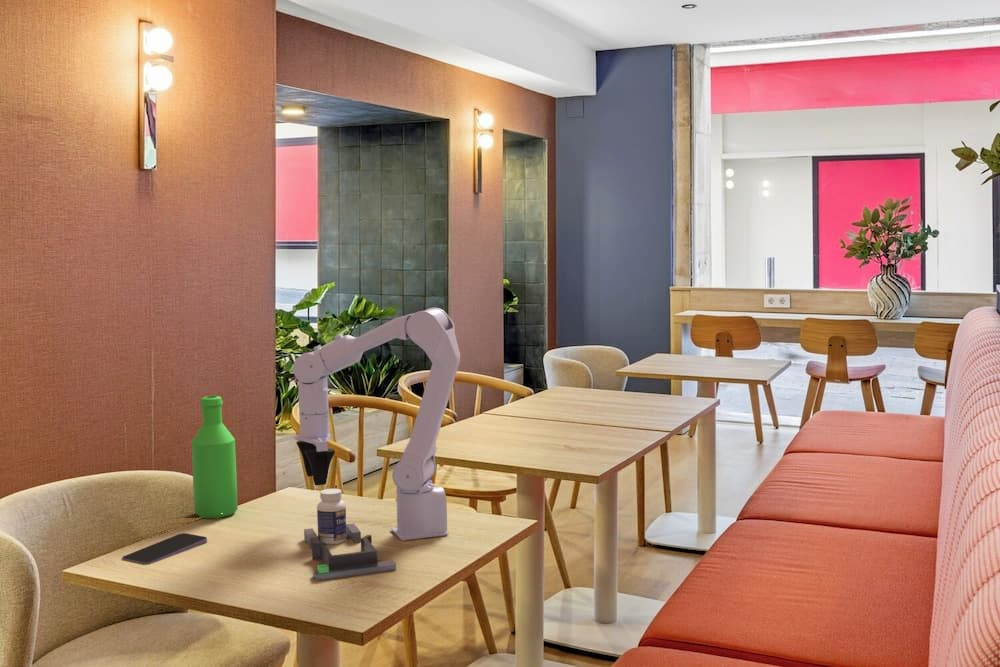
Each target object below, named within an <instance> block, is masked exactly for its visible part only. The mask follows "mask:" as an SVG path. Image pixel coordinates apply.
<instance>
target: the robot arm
mask: <svg viewBox="0 0 1000 667" xmlns="http://www.w3.org/2000/svg"><path fill="white" fill-rule="evenodd" d="M455 327H456V326H455V323H454V322H453V320H452V319H451V318H450V316H449V315H448V314H447V312H446V311H445V310H443V309H441V308H439V307H429V308H426V309H425V310H421V311H417V312H414V313H410V314H406V315H402V316H399V317H396V318H393V319H390V320H389V321H387V322H385V323H384V324H381V325H379V326H378V327H375V328H373V329H371V330H369V331H367V332H365V333H363V334H362V335H359V336H357V337H355V336H353V335H350V334H346V335H343V334H338V335H336V336H334V340H332V341H330V342H328V343H325V344H324V345H322V346H321V345H320V344H319V345H316V346H314V347H313V349H314V351H311V352H310V351H309V352H303V353H302V354H301V355H300V356H298V357H297V358H296V359H295V360H294V362H293V365H292V371H293V375H294V377H295V378H296V379H297V382H298V383H297V384H298V387H297V388H298V413H299V414H298V416H299V434H297V435H296V434H295V435H294V436H293V439H294V441H296V445H297V447H298V449H299V452H300V454H301V457H302V460H303V464H304V469H305V473H306V476H307V478H308V477H309V478H310V477H312V480H313V484H314V485H315V486H322V485H323V486H325V485H326V484H327V481H328V474H329V471H330V470H329V469H330V465H331V462H332V460H333V457H334V456H335V453H336V450H335V449H334V448H328V442H329V441H330V439H331V433H330V415H329V414H330V410H329V386H328V377H329V375H332V374H335V373H337V372H339V371H341V370H344V369H346V368H348V367H350V366H352V365H354V364H356V363H359V362H360V361H361V360H362V357H363V354H364V352H367V351H368V350H371V349H374V348H375V347H379V346H381V345H383V344H385V343H387V342H389V341H392V340H395V339H399V340H403V341H406V340H409V339H410V340H411V341H412V342H413V344H415V345H417V346H418V347H420V348H421V349H422V350H423V351H424V352H425V354H426V356H427V357H428V359H429V360H430V362H431V367H430V370H429V374H428V376H427V377H428V378H427V381H426V385H425V388H424V390H423V395H422V398H421V401H420V403H419V404H420V405H419V408H418V412H417V414H416V418H415V421H414V425H413V429H412V432H411V435H410V438H409V441H408V443H407V445H406V447H405V449H404V451H403V452H402V456H401V459H400V460H399V461H398V462H397V464H395V466H394V467H393V468H392V469H393V470H392V476H391V477H392V481H393V483H394V485H395V486H396V487H395V489H396V490H395V491H396V492H395V493H396V494H395V495H396V524H397V525H396V526H392V527H390V528H391V531H392V532H393V533H394V534H395V535H396V537H398V539H399V540H400V541H402V542H403V541H411V540H419V539H425V538H426V539H427V538H434V537H442V536H448V535H449V532H448V505H447V496H446V492H445V489H444V488H443V487H442V486H440V485H438V486H436V485H435V486H434V483H433V480H431V478H433V476H434V474H435V472H436V466H437V465H436V463H437V462H436V459H435V457H436V453H437V446H436V444H437V440H438V436H439V434H440V433H439V432H440V429H441V425H442V423H443V420H444V417H445V412H446V410H447V407H448V403H449V399H450V396H451V393H452V389H453V386H454V382H455V379H456V375H457V372H458V369H459V366H460V362H461V352H460V349H459V344H458V341H457V338H456V336H457V335H456V331H455Z"/></svg>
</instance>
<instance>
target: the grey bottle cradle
mask: <svg viewBox="0 0 1000 667" xmlns="http://www.w3.org/2000/svg"><path fill="white" fill-rule="evenodd" d="M372 542H373V541H372V534H371V535H370V534H367V535H364V536H363V537H361V542H360V551H356V552H355V551H354V552H348V553H341V554H332V553H331V551H330V550H329V548H328V547H327V544H326V543H322V542H319V541H318V542H313V543H312V548H311V554H312V555H311V558H312V560H319V561H320V562H321V564H318V565H317V570H313V571H312V573H313V574H312V575H313V579H314V580H315V582H319V581H326V580H334V579H341V578H348V577H354V576H361V575H367V574H376V573H382V572H383V573H384V572H390V571H396V570H397V563H396V562H395V561H394V560H392V559H390V560H384V561H378V549H376V547H374V545H373V543H372Z"/></svg>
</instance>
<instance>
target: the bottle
mask: <svg viewBox="0 0 1000 667" xmlns="http://www.w3.org/2000/svg"><path fill="white" fill-rule="evenodd" d="M222 398H223V397H222V396H218V395H207V396H203V397H202V398H201V399H200V404H199V406H200V407H202V408H201V411H202V412H201V413H202V425H201V426H200V427H199V430H198V432H197V433H196V434H195V436H194V437H193V438H192V441H191V460H192V462H191V463H192V466H191V467H192V483H193V504H194V505H193V506H194V514H196V515H197V516H198V517H200V518H202V519H207V518H209V520H210V519H211V518H214V519H222V518H227V517H229V516H232V515H233V514H235V513H236V511H237V510H238V507H239V506H238V483H237V482H238V481H237V480H238V479H237V461H236V460H237V457H236V440H235V437H234V436H233V434H231V432H230V431H229V430H228V429H227V426H226V425H224V423H223V414H222V413H223V412H222V410H223V409H222V406H223V404H224V402H223V399H222ZM221 513H223V514H221ZM225 516H226V517H225ZM221 517H222V518H221Z"/></svg>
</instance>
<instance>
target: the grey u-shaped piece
mask: <svg viewBox="0 0 1000 667" xmlns="http://www.w3.org/2000/svg"><path fill="white" fill-rule="evenodd" d="M303 536H304V537H303V538H304V541H305V543H306V545H307V547H308V548H309V549H312V543H313V542H319V541H318V534H317V533H316V532H315V530H314V529H313V528H311V527H310V528H304V529H303ZM346 537H347V538H348V539H349V540H350V541H351V543H352V544H355V543H356V544H357V543H361V538H362V532H361V530H360V528H358V526H357V525H356V524H355V523H346Z"/></svg>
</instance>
